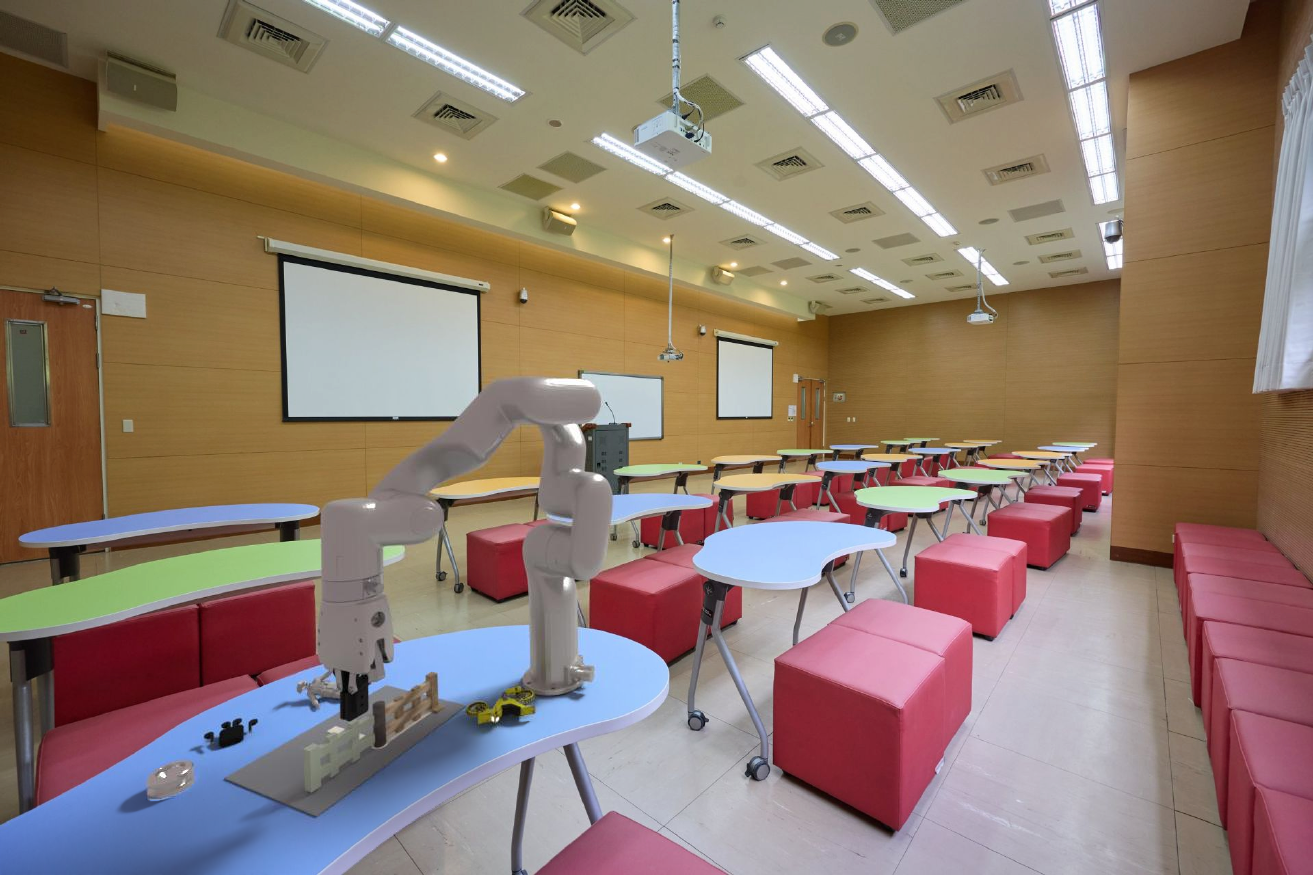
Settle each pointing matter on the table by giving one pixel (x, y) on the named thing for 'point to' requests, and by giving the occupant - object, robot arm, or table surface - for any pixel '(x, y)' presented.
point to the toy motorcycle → (504, 706)
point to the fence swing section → (336, 752)
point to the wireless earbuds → (231, 732)
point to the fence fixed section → (400, 715)
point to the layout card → (285, 764)
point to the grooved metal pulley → (170, 779)
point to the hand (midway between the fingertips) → (354, 715)
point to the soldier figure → (319, 688)
